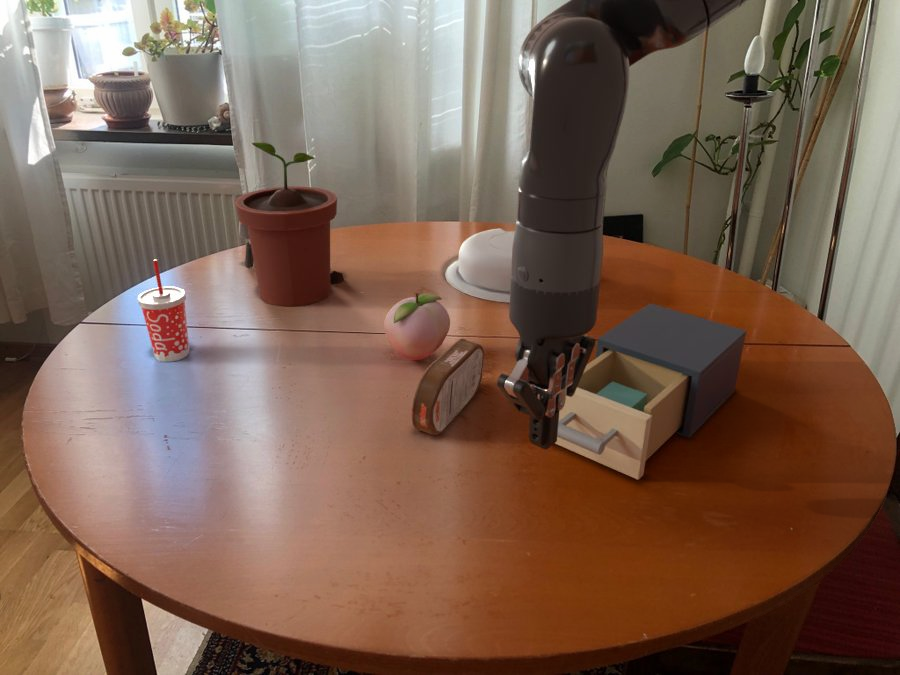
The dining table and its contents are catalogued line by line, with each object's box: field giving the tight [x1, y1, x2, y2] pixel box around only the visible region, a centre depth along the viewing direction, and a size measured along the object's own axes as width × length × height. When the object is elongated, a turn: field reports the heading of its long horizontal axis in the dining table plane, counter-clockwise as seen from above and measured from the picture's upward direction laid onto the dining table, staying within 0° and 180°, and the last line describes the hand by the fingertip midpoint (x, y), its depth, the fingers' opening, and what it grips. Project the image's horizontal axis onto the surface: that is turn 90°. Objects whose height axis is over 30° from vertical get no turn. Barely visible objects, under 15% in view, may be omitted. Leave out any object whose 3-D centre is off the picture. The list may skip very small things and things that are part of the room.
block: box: [596, 382, 647, 412], centre depth 83 cm, size 4×4×4 cm
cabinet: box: [595, 303, 747, 439], centre depth 91 cm, size 14×13×9 cm
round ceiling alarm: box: [444, 228, 515, 304], centre depth 130 cm, size 25×25×6 cm
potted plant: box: [234, 142, 345, 307], centre depth 121 cm, size 18×22×25 cm
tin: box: [411, 338, 486, 436], centre depth 88 cm, size 15×3×8 cm, turn 154°
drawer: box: [554, 349, 691, 480], centre depth 81 cm, size 17×12×7 cm
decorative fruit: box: [383, 292, 451, 361], centre depth 100 cm, size 9×8×10 cm
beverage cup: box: [136, 258, 190, 363], centre depth 101 cm, size 6×6×14 cm
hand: (542, 442), depth 70 cm, fingers closed
